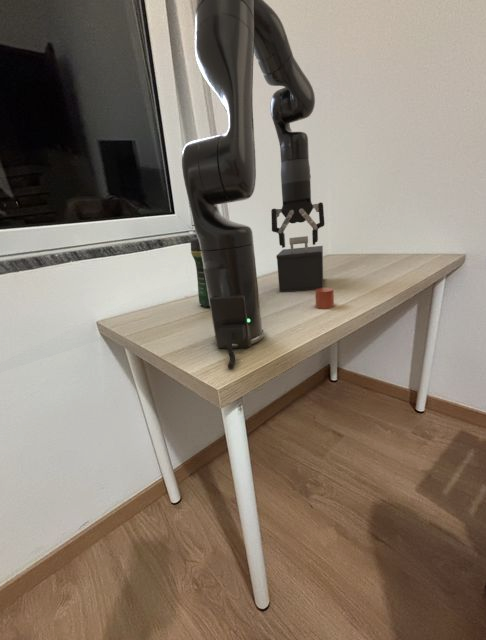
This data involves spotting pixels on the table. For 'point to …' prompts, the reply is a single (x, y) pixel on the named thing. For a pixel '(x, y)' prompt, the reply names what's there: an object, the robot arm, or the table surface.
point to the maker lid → (300, 249)
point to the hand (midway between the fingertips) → (298, 245)
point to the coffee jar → (200, 272)
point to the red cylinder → (324, 298)
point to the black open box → (300, 273)
